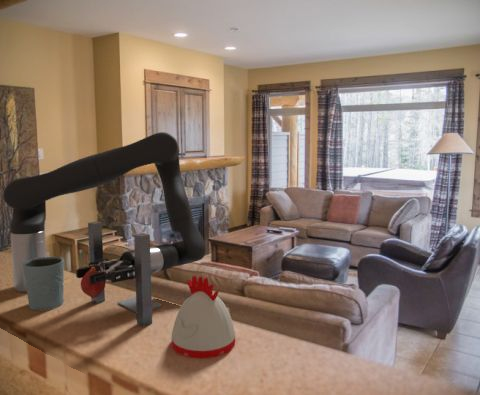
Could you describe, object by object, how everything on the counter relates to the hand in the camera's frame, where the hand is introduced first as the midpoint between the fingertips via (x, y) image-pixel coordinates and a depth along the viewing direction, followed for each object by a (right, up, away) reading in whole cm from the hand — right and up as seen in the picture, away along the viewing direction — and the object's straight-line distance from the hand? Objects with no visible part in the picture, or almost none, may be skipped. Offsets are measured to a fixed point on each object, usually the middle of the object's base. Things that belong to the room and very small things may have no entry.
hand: (83, 276), depth 107 cm
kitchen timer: (+30, -13, -9) cm, 34 cm away
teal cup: (-15, -10, +13) cm, 22 cm away
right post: (+15, -12, +1) cm, 19 cm away
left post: (-1, -9, +16) cm, 19 cm away
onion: (+2, -6, +3) cm, 7 cm away
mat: (+11, -10, +13) cm, 19 cm away
